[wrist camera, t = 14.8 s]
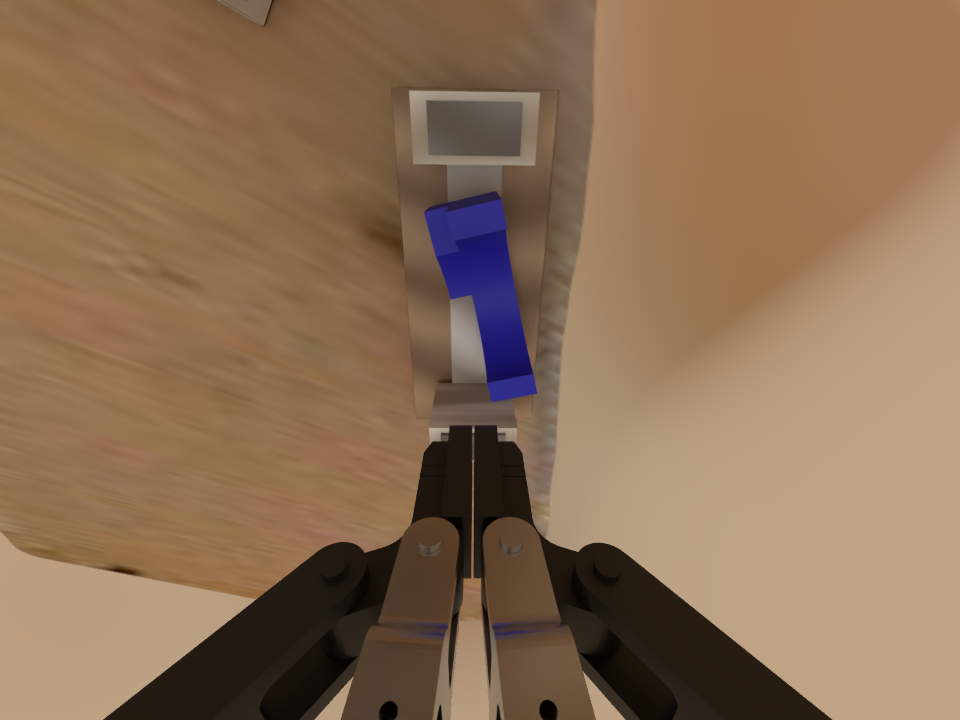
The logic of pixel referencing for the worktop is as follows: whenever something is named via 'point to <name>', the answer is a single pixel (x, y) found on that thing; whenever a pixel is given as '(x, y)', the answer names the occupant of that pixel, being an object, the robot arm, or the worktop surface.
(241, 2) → the small box
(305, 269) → the worktop surface
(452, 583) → the robot arm
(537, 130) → the rail board
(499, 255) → the blue curved piece
